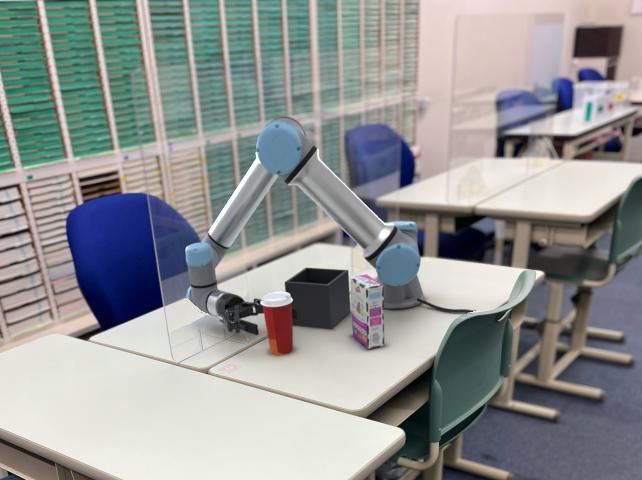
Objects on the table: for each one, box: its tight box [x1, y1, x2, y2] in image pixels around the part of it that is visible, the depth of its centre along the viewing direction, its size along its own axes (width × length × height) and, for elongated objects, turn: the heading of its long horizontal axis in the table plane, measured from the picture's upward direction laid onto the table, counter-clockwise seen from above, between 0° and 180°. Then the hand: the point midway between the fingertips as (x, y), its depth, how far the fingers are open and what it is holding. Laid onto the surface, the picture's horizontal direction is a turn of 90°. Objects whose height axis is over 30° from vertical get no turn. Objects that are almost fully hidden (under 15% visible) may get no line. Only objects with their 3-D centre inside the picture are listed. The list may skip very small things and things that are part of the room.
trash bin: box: [284, 267, 351, 330], centre depth 200 cm, size 14×14×13 cm
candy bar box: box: [349, 274, 385, 350], centre depth 181 cm, size 11×5×16 cm, turn 18°
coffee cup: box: [260, 290, 294, 356], centre depth 181 cm, size 8×8×15 cm
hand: (276, 321), depth 182 cm, fingers open, 13 cm apart
